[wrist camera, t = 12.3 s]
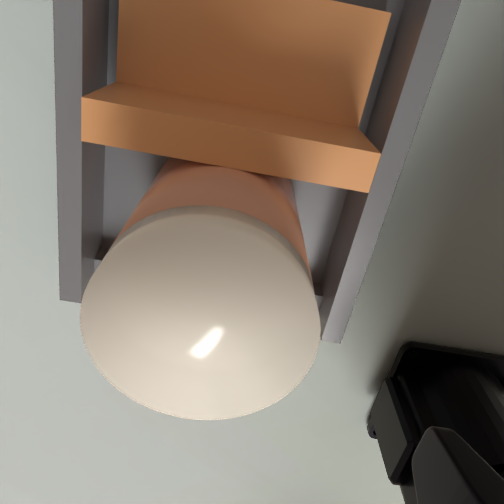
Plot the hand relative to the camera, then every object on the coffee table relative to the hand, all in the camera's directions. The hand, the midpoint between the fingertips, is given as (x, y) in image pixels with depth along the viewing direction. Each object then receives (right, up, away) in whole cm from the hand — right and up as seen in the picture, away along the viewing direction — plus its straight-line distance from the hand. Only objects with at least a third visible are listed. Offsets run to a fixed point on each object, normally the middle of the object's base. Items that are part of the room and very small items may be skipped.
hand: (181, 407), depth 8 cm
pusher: (+1, +9, +7) cm, 12 cm away
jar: (0, +5, +10) cm, 11 cm away
